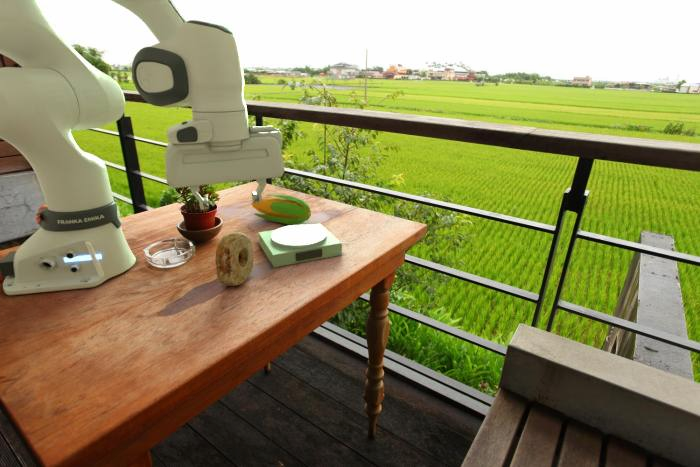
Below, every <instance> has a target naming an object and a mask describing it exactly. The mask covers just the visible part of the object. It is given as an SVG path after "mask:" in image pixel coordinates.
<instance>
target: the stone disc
mask: <svg viewBox="0 0 700 467" xmlns="http://www.w3.org/2000/svg"><path fill="white" fill-rule="evenodd" d="M254 256H255V254H254V248H253V244H252V241H251V238H249V236H248V235H247V234H245V233H243V232H238V231H237V232H230V233H226V234H225V235H223V236H222V238H221V239H220V241H219V242H218V244H217V246H216V251H215V266H216V267H215V270H216V273H215V274H216V277H217V280H218V281H219V282H220V283H221V284H222V285H224V286H230V287H234V286H239V285H242V284H243V283H244V282H245V281H246V280H247V279H248V277H250V275H251V273H252V271H253V266H254V261H255V260H254V259H255V257H254Z"/></svg>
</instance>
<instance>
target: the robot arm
mask: <svg viewBox="0 0 700 467" xmlns="http://www.w3.org/2000/svg"><path fill="white" fill-rule="evenodd" d="M111 2H114V3H116V4H117V5H120V6H122V7H123V8H125V9H126V10H128V11H130V12H131V13H133V14H134V16H137V17H138V18H139V19H140V20H141V21H142V22H143V23H144V24H145V25H146V26H147V28H148V29H149V30H150V32H151V33H152V34H153V36H154V37H155V38H156V39H157V41H158V43H156V44H154V45H150V46H145V47H142V48H141V49H139V50H138V51H137V53H136V54H135V56H134V57H133V60H132V62H131V78H132V81H133V84H134V87H135V89H136V91H137V93H138V94H139V95H140V97H141V98H142V99H143V100H145V102H147V103H148V104H150V105H152V106H154V107H160V108H165V109H170V108H171V109H172V108H189V107H190V108H191V113H192V118H190V119H188V120H186V121H182V122H180V123H177V124H173V125H171V126H170V127H168V128H167V130H166V137H167V140H168V142H169V143H168V144H167V145H166V147H165V151H164V170H165V178H166V184H167V185H168V186H169V187H170V188H172V189H181V188H190V192H191V194H192V195H193V196H194V197H195V199H196V200H197V201H198V205H199V208H200V210H201V211H204V210H210V205H209V203H210V202H209V199H208V197H202V195H201V194H200V193H199V192H200V190H201V189H200V186H209V185H217V184H218V185H219V184H227V183H238V182H246V181H247V182H248V181H254V180H255V181H256V183H257V184H258V185H257V188H256V189H255V191H252V192H251V200H252V202H254V203H259V202H262V199H263V196H262V194H263V193H264V190H265V188H266V186H267V179H274V178H281V177H282V176H283V174H284V173H285V163H284V157H283V153H282V152H283V151H282V147H283V144H284V142H283V135H282V131H280V130H279V128H276V127H274V126H273V125H266V126H249V118H248V108H247V104H246V102H245V99H244V87H245V77H244V68H243V61H242V54H241V49H240V46H239V42H238V39H237V36H236V35H235V33H234V31H232V30H231V29H230V28H229V27H227V26H225V25H220V24H215V23H211V22H206V21H201V20H195V19H194V20H192V19H190V20H187V21H186V19H185V17H184V16H183V15H182V13H181V12H180V11H179V9H178V8H177V7H176V5H175V4H174V2H172V0H111ZM0 55H3V56H4V57H6V58H8V59H10V60H12V61H13V62H14V63H16V64H18V66H20V67H18V66H17V67H16V66H14V67H13V66H4V67H0V139H1V140H3V141H5V142H6V143H8V144H10V145H11V146H12V147H14V148H15V149H16V150H17V151H18V152H19V153H20V154H21V155H22V156H23V157H24V159H25V160H26V161H27V162H28V163H29V165H30V166H31V168H32V170H33V172H34V174H35V176H36V178H37V181H38V184H39V187H40V190H41V192H42V196H43V198H44V201H45V203H43V204H41V205H40V207H39V208H38V209H37V210H38V211H37V213H36V217H35V220H36V224H38V225H39V227H40V228H38V229H37V230H36V231H35V232H34V233H33V234H32V235H31V236H29V238H27V239H26V240H25V241H24V242H23V243H22V244H21V245H20V246H19V247H18V248H17V249H16V250H14V251H9V252H8V253H7V254H6V255H5V256H4V257H2V258H1V259H0V274H1V276H2V277H5V278H4V280H3V282H2V289H3V292H4V294H5V295H7V296H17V295H29V294H38V293H47V292H49V293H50V292H57V291H58V292H59V291H69V290H77V289H79V290H80V289H89V288H95V287H97V286H100V285H101V284H102V283H104V282H106V281H107V280H109V279H111V278H113V277H116V276H118V275H121V274H123V273H124V272H126V271H128V270H129V269H131V268H132V267H133V266H134V265H135V264H136V262H137V257H136V256H135V255H134V253H133V251H132V250H131V247H130V246H129V243H128V241H127V238H126V237H125V234H124V232H123V229H122V222H123V221H122V216H121V212H120V207H119V205H118V202H117V199H116V198H114V194H113V191H112V185H111V182H110V177H109V172H108V168H107V165H106V164H105V163H104V161H103V160H102V159H101V158H100V157H99V156H97V155H94V154H92V153H90V152H87V151H84V150H82V149H81V148H80V147H79V145H78V144H77V143H76V141H75V139H74V137H73V136H74V135H73V133H72V132H77V131H84V130H85V131H86V130H91V129H92V130H93V129H98V128H102V127H105V126H108V125H110V124H113V123H115V122H117V121H119V120H121V118H122V117H123V116H124V113H125V108H126V98H125V94H124V91H123V90H122V88H121V86H120V85H119V83H118V81H117V80H116V79H114V78H113V77H112V76H111V75H109V74H106V73H105V72H103V71H101V70H100V69H98V68H97V67H95V66H94V65H92V64H91V63H90V62H89V61H88V60H87V59H85V58H84V57H83V56H82V55H81V54H80V53H79V52H78V51H77V50H76V49H75V48H74V47H73V46H72V45H71V44H70V43H69V42H68V41H67V40H66V39H65V37H64V36H63V35H62V34H61V32H60V31H59V30H58V29H57V27H56V26H55V24H54V22H53V21H52V19H51V18H50V16H49V14H48V13H47V11H46V9H45V7H44V6H43V4H42V2H41V0H0Z"/></svg>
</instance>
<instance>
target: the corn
mask: <svg viewBox="0 0 700 467" xmlns="http://www.w3.org/2000/svg"><path fill="white" fill-rule="evenodd" d="M266 196H268V197H269V198H268V197H267V198H266V197H265V198H262V202H259V203H254V202H253V201H252V202H251V206H252V208H254V209H255V210H256V211H257V212H258V213H257V212H256V213H254V216H256V217H259V218H261V219H264V220H266V221H270V222H273V223H277V224H278V223H279V224H284V225H288V226H290V225H301V224H302V223H305V222H307V221H308V220H309V219H310V218H311V216H312V211H311V208H310V206H309V204H308V203H307V202H306V201H305V200H304V199H301V198H298V197H295V196H292V195H286V194H285V195H284V194H276V193H275V194H273V193H272V194H270V193H269V194H266Z"/></svg>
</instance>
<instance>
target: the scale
mask: <svg viewBox="0 0 700 467" xmlns="http://www.w3.org/2000/svg"><path fill="white" fill-rule="evenodd" d="M257 234H258V244H259V245H260V247H261V250H263V253H264V254H265V256H266V257H267V259H268V261H269V262H270V264H271V265H272V267H273V268H279V267H283V266H284V267H285V266H289V265H294V264H300V263H305V262H311V261H316V260H317V261H318V260H321V259H326V258H333V257H336V256H342V255H343V243H342V241H341V240H339V239H338V238H337V237H336V236H335V235H333V233H332V232H330V231H329V230H328V228H326V227H325V226H324V225H323V224H321V223H320V222H319V223H313V224H297V225H286V226H282V227H278V228H275V229H271V230H264V231H258V232H257Z"/></svg>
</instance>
